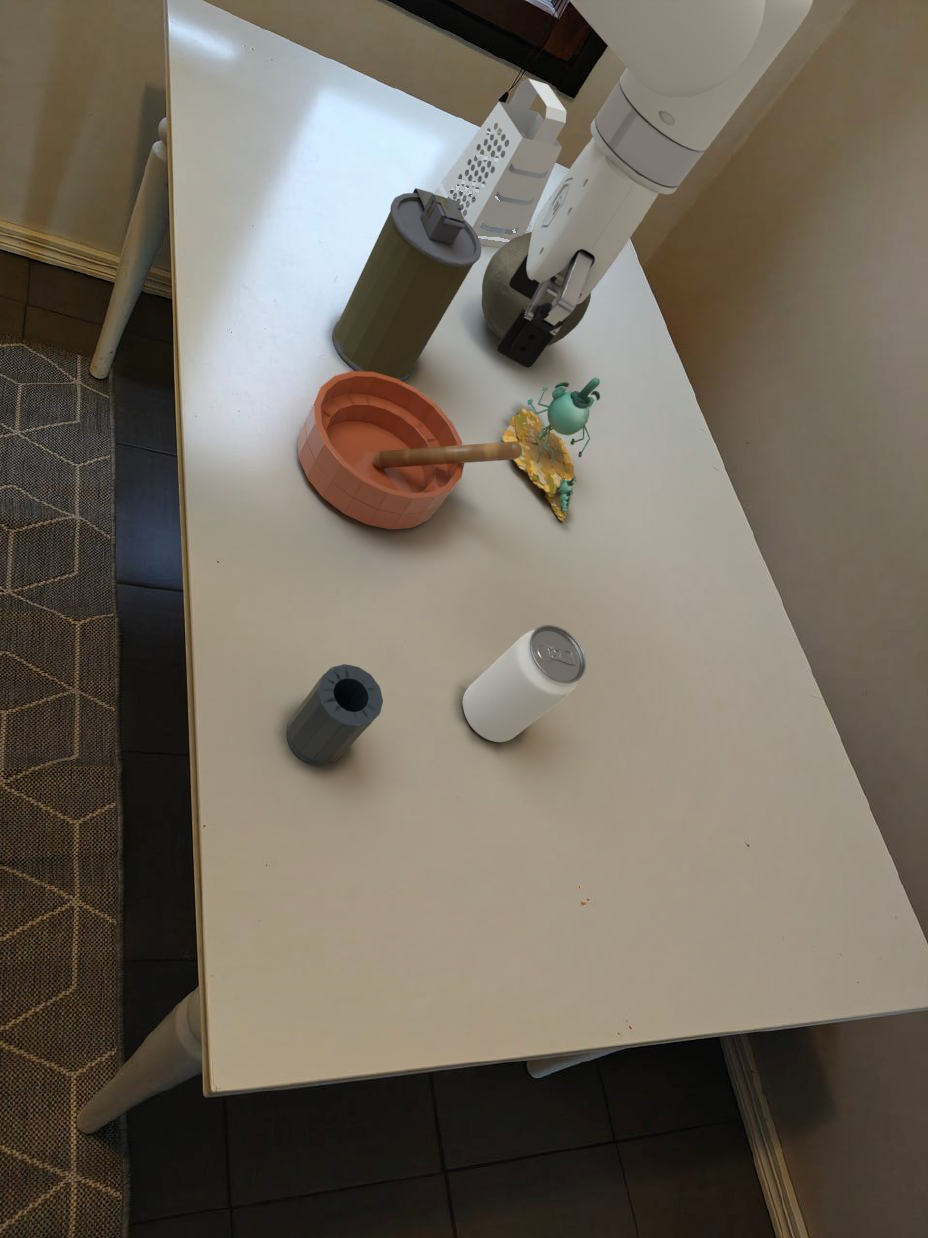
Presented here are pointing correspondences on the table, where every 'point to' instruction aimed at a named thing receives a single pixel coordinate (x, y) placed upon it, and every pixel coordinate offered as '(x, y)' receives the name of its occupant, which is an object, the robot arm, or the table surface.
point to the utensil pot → (334, 714)
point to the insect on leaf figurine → (552, 441)
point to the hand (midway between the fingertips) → (518, 324)
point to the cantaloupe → (507, 302)
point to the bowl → (376, 449)
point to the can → (524, 683)
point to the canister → (406, 284)
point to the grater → (509, 163)
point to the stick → (447, 455)
